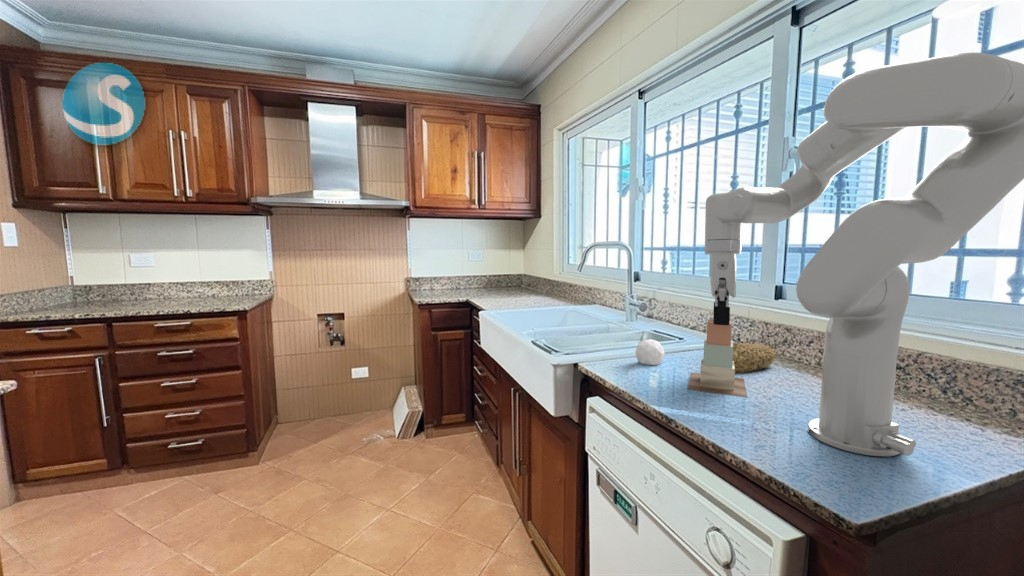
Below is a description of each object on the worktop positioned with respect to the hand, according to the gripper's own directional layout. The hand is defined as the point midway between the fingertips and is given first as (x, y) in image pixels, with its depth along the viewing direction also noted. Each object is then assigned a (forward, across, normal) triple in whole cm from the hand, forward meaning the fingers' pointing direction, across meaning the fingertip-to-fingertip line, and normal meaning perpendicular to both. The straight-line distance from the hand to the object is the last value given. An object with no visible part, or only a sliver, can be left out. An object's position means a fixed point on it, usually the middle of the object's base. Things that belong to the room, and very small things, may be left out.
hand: (721, 321), depth 95 cm
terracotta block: (+5, 0, 0) cm, 5 cm away
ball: (+16, +13, +18) cm, 27 cm away
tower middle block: (+10, 0, +1) cm, 10 cm away
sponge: (+16, +22, -6) cm, 28 cm away
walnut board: (+16, +1, +1) cm, 16 cm away
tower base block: (+15, +1, +1) cm, 15 cm away
